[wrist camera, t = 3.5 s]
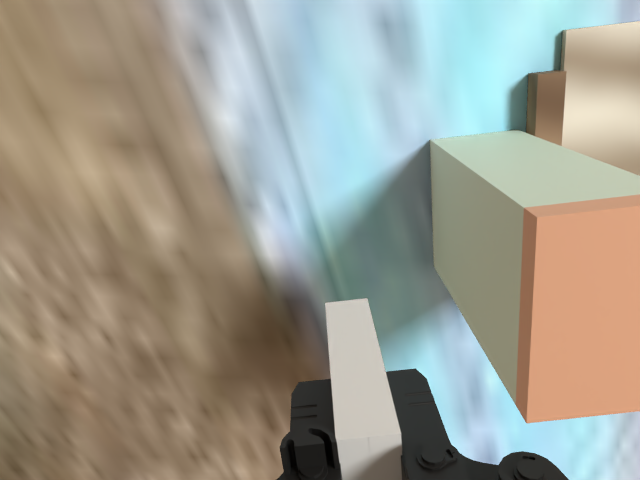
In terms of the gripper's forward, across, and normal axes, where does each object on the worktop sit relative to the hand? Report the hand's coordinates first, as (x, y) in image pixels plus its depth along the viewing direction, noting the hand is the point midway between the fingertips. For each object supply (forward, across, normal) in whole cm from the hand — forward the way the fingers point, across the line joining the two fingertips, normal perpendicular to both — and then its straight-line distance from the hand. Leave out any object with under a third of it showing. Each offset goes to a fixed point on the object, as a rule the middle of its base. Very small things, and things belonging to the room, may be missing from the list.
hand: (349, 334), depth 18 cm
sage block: (+13, +9, 0) cm, 16 cm away
